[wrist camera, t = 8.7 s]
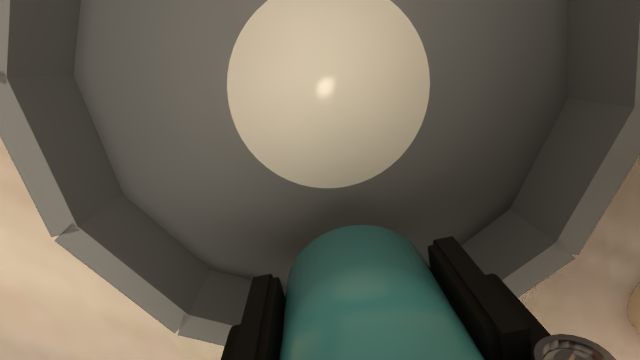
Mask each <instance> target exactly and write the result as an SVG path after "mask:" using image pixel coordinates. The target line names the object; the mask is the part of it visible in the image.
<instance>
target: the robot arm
mask: <svg viewBox="0 0 640 360" xmlns="http://www.w3.org/2000/svg"><path fill="white" fill-rule="evenodd" d="M428 255H429V262H430V269H431V271H432V272H433V274H434V276H435V277H436V279H437V281H438V282H439V284H440V286H441V287H442V289H443V291H444V292H445V294H446V296H447V297H448V299H449V301H450V302H451V304H452V306H453V307H454V309H455V311H456V312H457V314H458V316H459V317H460V319H461V321H462V322H463V324H464V326H465V327H466V329H467V331H468V332H469V334H470V336H471V338H472V339H473V341H474V343H475V344H476V346H477V348H478V349H479V351H480V353H481V354H482V356H483V358H484V359H485V360H616V359H615V358H614V357H613V356H612V355H611V354H610V353H609V352H608V351H607V350H605V349H604V348H602V347H601V346H600V345H598V344H596V343H594V342H592V341H590V340H587V339H585V338H581V337H577V336H574V335H564V334H558V335H550V334H549V333H548V332H547V330H546V329H545V328H544V327H543V326H542V325H541V324H540V323H539V321H538V320H537V319H536V318H535V317H534V316H533V315H532V314H531V313H530V311H529V310H528V309H527V308H526V307H525V306H524V305H523V304H522V302H521V301H520V300H519V299H518V298H517V297H516V296H515V295H514V293H513V292H512V291H511V290H510V289H509V288H508V287H507V286H506V285H505V283H504V282H503V281H502V280H501V279H500V278H499V277H498V276H497V275H496V274H493V273H491V274H486V275H485V274H484V273H483V272H482V270H481V269H480V268H479V267H478V266H477V264H476V263H475V262H474V261H473V260H472V258H471V257H470V256H469V255H468V254H467V252H466V251H465V250H464V249H463V248H462V247H461V245H460V244H459V243H458V242H457V241H456V239H455V238H454V237H453V236H449V237H445V238H440V239H435V240H433V245H430V246H428ZM284 306H285V295H284V292H283V288H282V285H281V281H280V279H279V277H275V278H273V276H272V274H266V275H261V276H256V277H253V279H252V282H251V286H250V290H249V294H248V297H247V301H246V305H245V309H244V313H243V316H242V320H241V324H239V325H234V326H232V327H231V329H230V331H229V334H228V337H227V341H226V344H225V347H224V351H223V354H222V357H221V360H279V355H280V345H281V336H282V326H283V316H284Z"/></svg>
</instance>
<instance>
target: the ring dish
mask: <svg viewBox="0 0 640 360" xmlns="http://www.w3.org/2000/svg"><path fill="white" fill-rule="evenodd" d="M0 137H1V139H2V141H3V143H4V145H5V147H6V149H7V151H8V153H9V155H10V156H11V158H12V160H13V162H14V164H15V166H16V168H17V170H18V172H19V174H20V176H21V178H22V180H23V182H24V184H25V186H26V188H27V190H28V192H29V194H30V196H31V198H32V200H33V202H34V204H35V206H36V208H37V210H38V212H39V214H40V216H41V218H42V220H43V222H44V224H45V226H46V228H47V229H48V231H49V233H50V235H51V237H54V236H58V235H59V236H58V237H57V239H56V240H55V242H57V243H58V244H59V245H61V246H62V247H63V248H65V249H66V250H67V251H68V252H70V253H71V254H72V255H74V256H75V257H76V258H77V259H79V260H80V261H81V262H83V263H84V264H85V265H87V266H88V267H89V268H90V269H92V270H93V271H94V272H96V273H97V274H98V275H99V276H101V277H102V278H103V279H105V280H106V281H107V282H109V283H110V284H111V285H112V286H114V287H115V288H116V289H118V290H119V291H120V292H121V293H123V294H124V295H125V296H127V297H128V298H129V299H131V300H132V301H133V302H134V303H136V304H137V305H138V306H140V307H141V308H142V309H143V310H145V311H146V312H147V313H149V314H150V315H151V316H153V317H154V318H155V319H156V320H158V321H159V322H160V323H162V324H163V325H164V326H165V327H167V328H168V329H169V330H171V331H172V332H173V333H175V332H176V331H178V330H179V333H178V335H180V336H184V337H188V338H193V339H197V340H201V341H205V342H209V343H214V344H218V345H222V346H225V344H226V341H227V337H228V334H229V331H230V329H231V327H232V326H234V325H239V324H241V320H242V316H243V313H244V309H245V305H246V301H247V297H248V294H249V290H250V286H251V282H252V279H253V277H256V276H261V275H266V274H272V276H273V278H275V277H279V279H280V281H281V285H282V288H283V292H284V295H285V296H286V286H287V279H288V275H289V272H290V269H291V267H292V265H293V263H294V261H295V260H296V258H297V256H298V255H299V254H300V253H301V251H302V250H303V249H304V248H305V247H306V246H307V245H308V244H309V243H311V242H312V241H314V240H315V239H316V238H318V237H320V236H321V235H323V234H325V233H327V232H329V231H332V230H334V229H338V228H341V227H345V226H352V225H373V226H379V227H383V228H386V229H389V230H392V231H394V232H396V233H398V234H400V235H402V236H404V237H405V238H406V239H408V240H409V241H410V242H411V243H413V244H414V245H415V246H416V247H417V249H418V250H419V251H420V252H421V254H422V255H423V257H424V259H425V261H426V262H427V264H428V266H429V267H430V262H429V255H428V246H430V245H433V240H435V239H440V238H445V237H449V236H453V237H454V238H455V239H456V241H457V242H458V243H459V244H460V245H461V247H462V248H463V249H464V250H465V251H466V252H467V254H468V255H469V256H470V257H471V258H472V260H473V261H474V262H475V263H476V264H477V266H478V267H479V268H480V269H481V270H482V272H483V273H484V274H485V275H486V274H491V273H493V274H496V275H497V276H498V277H499V278H500V279H501V280H502V281H503V282H504V283H505V285H506V286H507V287H508V288H509V289H510V290H511V291H512V292H513V293H514V295H515V296H516V297H517V298H518V297H519V296H520V295H522V294H523V293H525V292H526V291H528V290H529V289H531V288H532V287H534V286H535V285H537V284H538V283H540V282H541V281H543V280H544V279H545V278H547V277H548V276H550V275H551V274H553V273H554V272H556V271H557V270H559V269H560V268H562V267H563V266H565V265H566V264H568V263H569V262H571V261H572V260H573V259H575V258H574V257H573V255H572V254H576V255H579V253H580V251H581V250H582V248H583V246H584V245H585V243H586V241H587V240H588V238H589V237H590V235H591V233H592V232H593V230H594V228H595V227H596V225H597V223H598V222H599V220H600V219H601V217H602V215H603V214H604V212H605V210H606V209H607V207H608V205H609V204H610V202H611V201H612V199H613V197H614V196H615V194H616V192H617V191H618V189H619V187H620V186H621V184H622V183H623V181H624V179H625V178H626V176H627V174H628V173H629V171H630V169H631V168H632V166H633V165H634V163H635V161H636V160H637V158H638V156H639V155H640V0H0ZM571 253H572V254H571Z"/></svg>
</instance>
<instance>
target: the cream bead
mask: <svg viewBox="0 0 640 360" xmlns="http://www.w3.org/2000/svg"><path fill="white" fill-rule="evenodd" d="M627 314H628V318H629V321H630V323H631V324H632V326H633V327H634V328H635V329H636V330H637V331H639V332H640V283H639V284H638V285H637V286H636V288H635V289H634V291H633V292H632V294H631V296H630V299H629V302H628V307H627Z"/></svg>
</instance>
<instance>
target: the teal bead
mask: <svg viewBox="0 0 640 360" xmlns="http://www.w3.org/2000/svg"><path fill="white" fill-rule="evenodd" d="M279 360H485V359H484V358H483V356H482V354H481V353H480V351H479V349H478V348H477V346H476V344H475V343H474V341H473V339H472V338H471V336H470V334H469V332H468V331H467V329H466V327H465V326H464V324H463V322H462V321H461V319H460V317H459V316H458V314H457V312H456V311H455V309H454V307H453V306H452V304H451V302H450V301H449V299H448V297H447V296H446V294H445V292H444V291H443V289H442V287H441V286H440V284H439V282H438V281H437V279H436V277H435V276H434V274H433V272H432V271H431V269H430V267H429V266H428V264H427V262H426V261H425V259H424V257H423V255H422V254H421V252H420V251H419V250H418V249H417V247H416V246H415V245H414V244H413V243H411V242H410V241H409V240H408V239H406V238H405V237H404V236H402V235H400V234H398V233H396V232H394V231H392V230H389V229H386V228H383V227H379V226H373V225H352V226H345V227H341V228H338V229H334V230H332V231H329V232H327V233H325V234H323V235H321V236H320V237H318V238H316V239H315V240H314V241H312V242H311V243H309V244H308V245H307V246H306V247H305V248H304V249H303V250H302V251H301V253H300V254H299V255H298V256H297V258H296V260H295V261H294V263H293V265H292V267H291V269H290V272H289V275H288V279H287V286H286V296H285V306H284V316H283V326H282V336H281V345H280V355H279Z"/></svg>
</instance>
